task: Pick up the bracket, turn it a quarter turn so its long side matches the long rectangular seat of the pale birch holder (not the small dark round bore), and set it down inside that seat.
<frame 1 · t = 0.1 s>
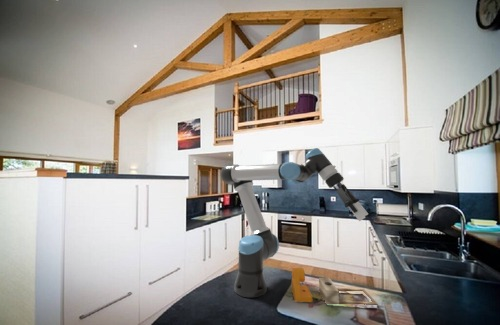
hand: (364, 217, 85), 36 cm above the countertop, tool tilted 35°, fingers open, 13 cm apart
seat holder: (346, 299, 88), on the countertop
bracket: (301, 297, 90), on the countertop
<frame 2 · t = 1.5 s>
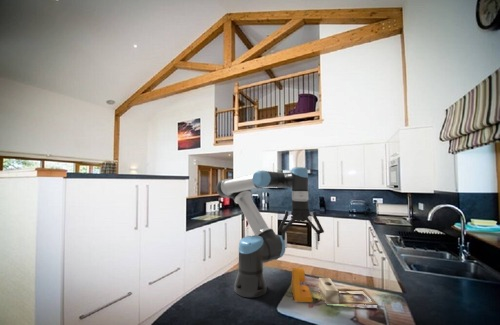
hand: (300, 248, 93), 21 cm above the countertop, tool pointing down, fingers open, 13 cm apart
nothing on the countertop moved.
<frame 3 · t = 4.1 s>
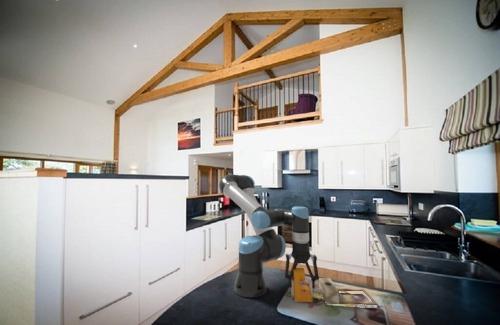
hand: (301, 295, 90), 1 cm above the countertop, tool pointing down, fingers closed on bracket, 7 cm apart
bracket: (301, 297, 90), on the countertop, touching gripper
when the fingers open (4 cm above the countertop, at t = 10.1 s): bracket drops 3 cm, resting in seat holder.
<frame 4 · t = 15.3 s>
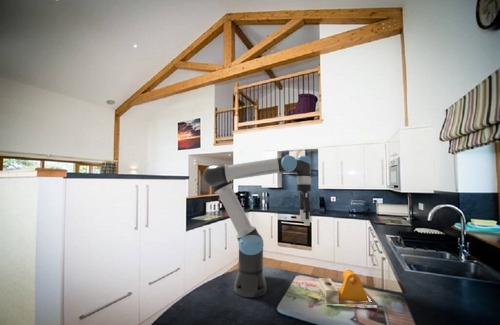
hand: (304, 223, 111), 29 cm above the countertop, tool pointing down, fingers open, 13 cm apart
bracket: (351, 300, 88), resting in seat holder
at the end: bracket 0.0 cm from the target spot on the seat holder, point 0.0 cm above the seat holder's base; bracket tilted 0°; the gripper is holding nothing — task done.
